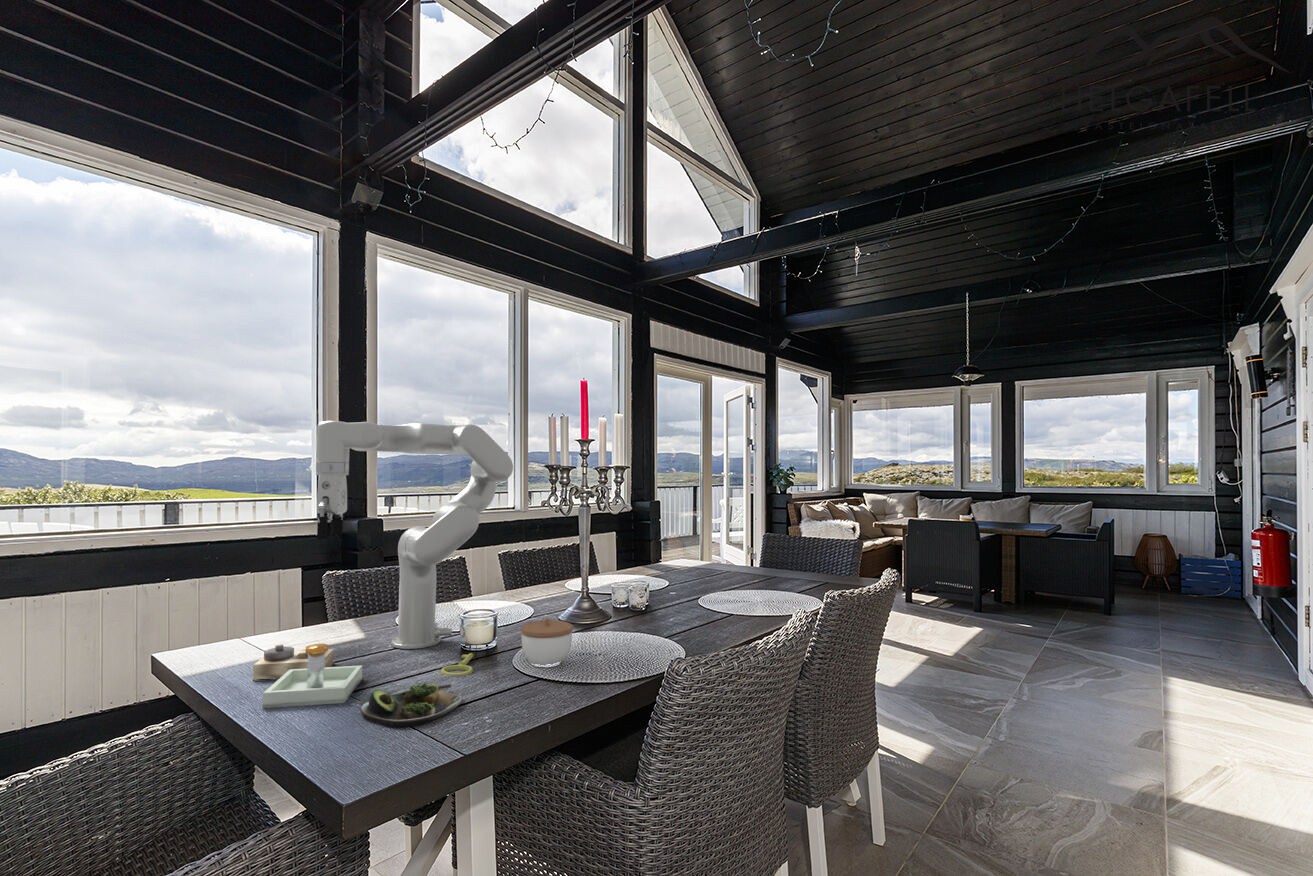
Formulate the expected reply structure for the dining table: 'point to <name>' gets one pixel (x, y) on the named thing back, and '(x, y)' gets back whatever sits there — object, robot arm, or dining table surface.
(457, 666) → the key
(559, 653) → the lidded bowl
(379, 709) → the salad plate
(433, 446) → the robot arm
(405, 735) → the dining table surface
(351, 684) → the tray
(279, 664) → the wooden holder
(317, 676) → the white jar gold lid
